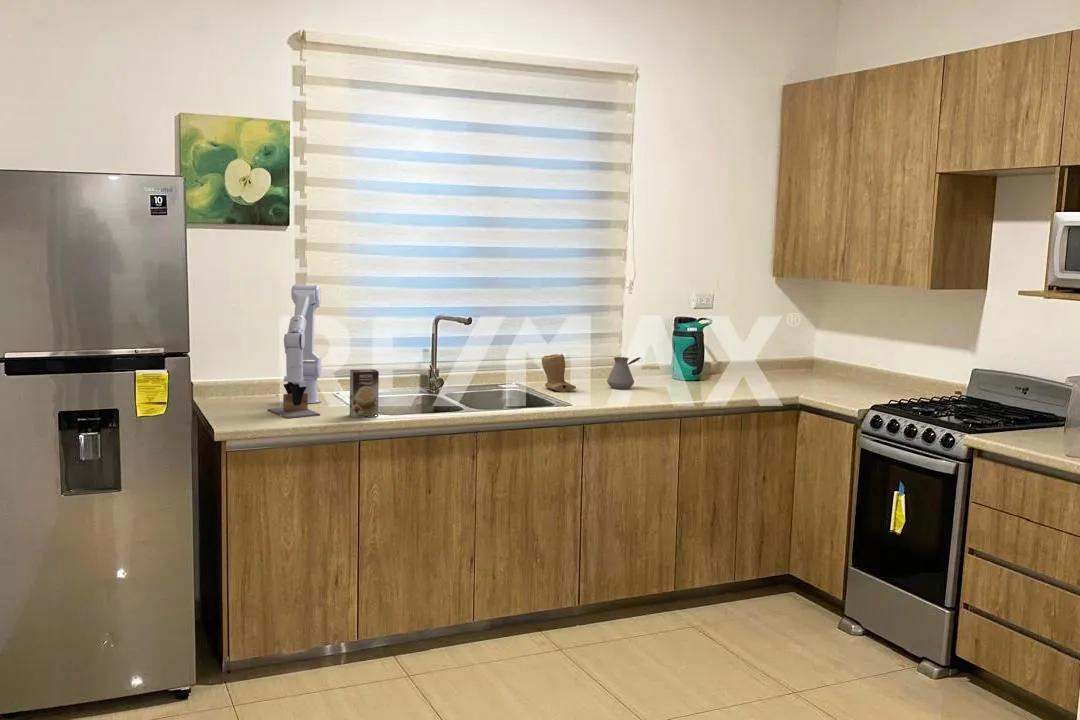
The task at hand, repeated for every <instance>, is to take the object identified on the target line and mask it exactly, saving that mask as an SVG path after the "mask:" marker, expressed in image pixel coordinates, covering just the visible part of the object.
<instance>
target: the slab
mask: <svg viewBox="0 0 1080 720" xmlns="http://www.w3.org/2000/svg"><path fill="white" fill-rule="evenodd" d="M282 395H283V396H282V398H283V400H282V401H283V402H282V403H283V411H285V412H293V411H303V410H308V409H309V408H308V406H309V405H308V393H305V392H304V393H303V397H302V401H301V405H296V406H295V405H294V402H293V395H292V394H287V393H284V394H282Z"/></svg>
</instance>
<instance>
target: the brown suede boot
mask: <svg viewBox="0 0 1080 720" xmlns="http://www.w3.org/2000/svg"><path fill="white" fill-rule="evenodd" d="M541 365H542V369H543V371H544V373H545V377H546V378H547V382H545V384H544V387H545V388H548V389H551V390H554V391H558V392H561V393H566V392H567V393H568V392H570V391H573V390H576V389H577V387H576V385H574V384H571V383H569V382H566V381H565V372H566V359H565V356H564V354H563V353H561V354H557V353H556V354H550V355H544V356H542V357H541Z"/></svg>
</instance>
